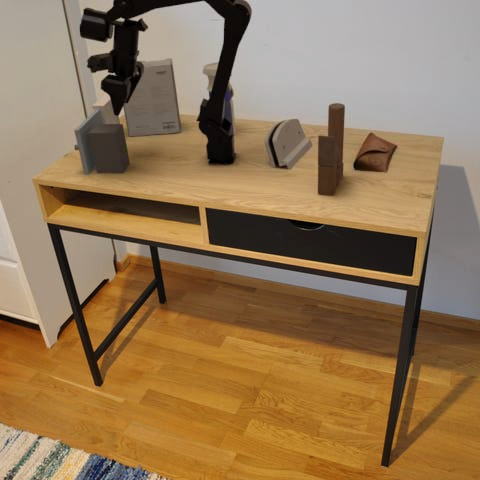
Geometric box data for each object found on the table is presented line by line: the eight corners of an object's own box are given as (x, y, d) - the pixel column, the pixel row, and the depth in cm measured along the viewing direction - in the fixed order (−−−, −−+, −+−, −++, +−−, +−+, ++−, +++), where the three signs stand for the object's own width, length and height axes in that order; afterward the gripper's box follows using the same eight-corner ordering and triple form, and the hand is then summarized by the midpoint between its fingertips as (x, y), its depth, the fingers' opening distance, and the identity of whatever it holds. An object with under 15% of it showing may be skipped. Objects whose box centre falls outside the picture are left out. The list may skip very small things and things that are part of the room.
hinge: (289, 170, 138) (276, 132, 134) (273, 173, 141) (259, 137, 137) (313, 145, 150) (301, 110, 147) (297, 148, 153) (285, 114, 149)
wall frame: (124, 135, 165) (117, 92, 158) (112, 150, 156) (103, 105, 149) (114, 135, 166) (106, 92, 159) (101, 150, 156) (92, 105, 149)
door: (109, 149, 156) (100, 108, 150) (88, 174, 143) (78, 130, 137) (98, 149, 157) (90, 108, 150) (77, 174, 143) (67, 130, 137)
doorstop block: (129, 163, 147) (122, 124, 141) (122, 173, 142) (115, 132, 136) (104, 163, 148) (96, 124, 142) (96, 173, 143) (88, 133, 137)
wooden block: (317, 194, 126) (318, 118, 117) (328, 174, 135) (330, 101, 125) (333, 196, 125) (335, 119, 116) (343, 176, 134) (346, 102, 124)
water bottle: (226, 125, 167) (220, 39, 154) (242, 133, 161) (237, 43, 148) (203, 132, 163) (194, 44, 150) (218, 140, 157) (211, 49, 144)
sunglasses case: (388, 173, 133) (375, 149, 131) (362, 184, 137) (349, 161, 135) (398, 144, 147) (386, 123, 145) (374, 155, 151) (362, 134, 149)
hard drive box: (181, 124, 170) (173, 57, 160) (180, 133, 164) (172, 64, 153) (130, 128, 170) (119, 61, 159) (127, 137, 163) (115, 69, 153)
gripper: (102, 30, 139) (100, 91, 148) (79, 49, 124) (77, 115, 132) (146, 39, 140) (141, 99, 148) (128, 59, 124) (124, 124, 133)
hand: (121, 108), depth 140 cm, fingers open, 9 cm apart
